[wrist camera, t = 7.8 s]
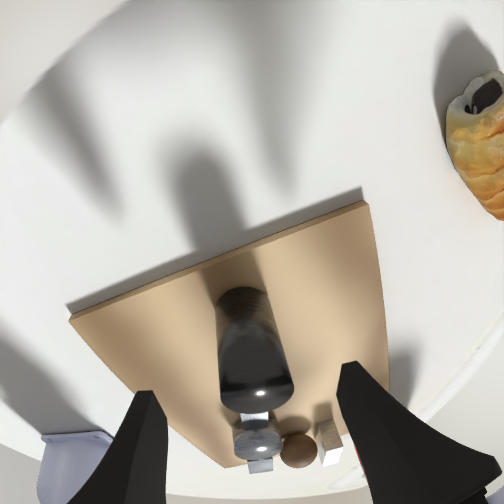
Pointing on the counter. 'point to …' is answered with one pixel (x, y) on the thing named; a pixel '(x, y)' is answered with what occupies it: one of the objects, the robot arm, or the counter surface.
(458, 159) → the pastry
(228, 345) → the lever
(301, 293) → the board
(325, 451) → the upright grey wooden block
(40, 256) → the counter surface
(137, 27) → the counter surface
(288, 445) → the brown ball
